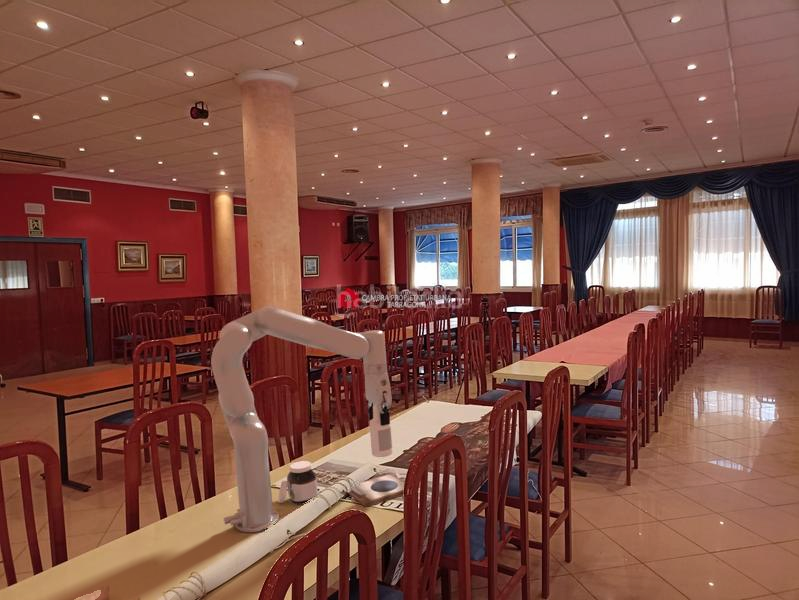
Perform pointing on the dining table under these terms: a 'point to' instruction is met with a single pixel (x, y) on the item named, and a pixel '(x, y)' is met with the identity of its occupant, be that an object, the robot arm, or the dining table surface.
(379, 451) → the spray bottle
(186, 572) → the dining table surface
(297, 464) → the spread jar
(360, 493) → the square pad with disc
